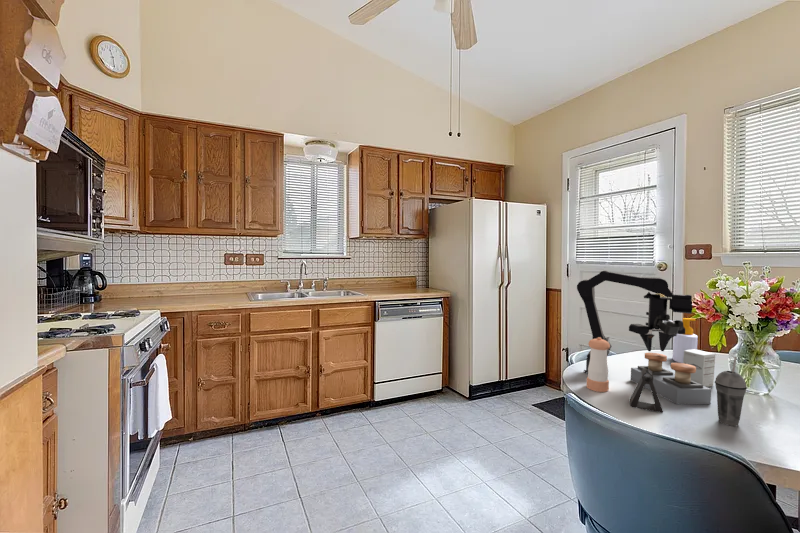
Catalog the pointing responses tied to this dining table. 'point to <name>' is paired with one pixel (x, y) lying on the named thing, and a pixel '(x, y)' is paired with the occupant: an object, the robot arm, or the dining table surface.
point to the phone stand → (638, 390)
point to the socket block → (674, 387)
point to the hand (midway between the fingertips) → (655, 351)
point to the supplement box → (701, 366)
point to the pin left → (655, 361)
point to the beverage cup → (730, 396)
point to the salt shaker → (598, 366)
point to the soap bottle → (684, 341)
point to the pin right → (683, 372)
